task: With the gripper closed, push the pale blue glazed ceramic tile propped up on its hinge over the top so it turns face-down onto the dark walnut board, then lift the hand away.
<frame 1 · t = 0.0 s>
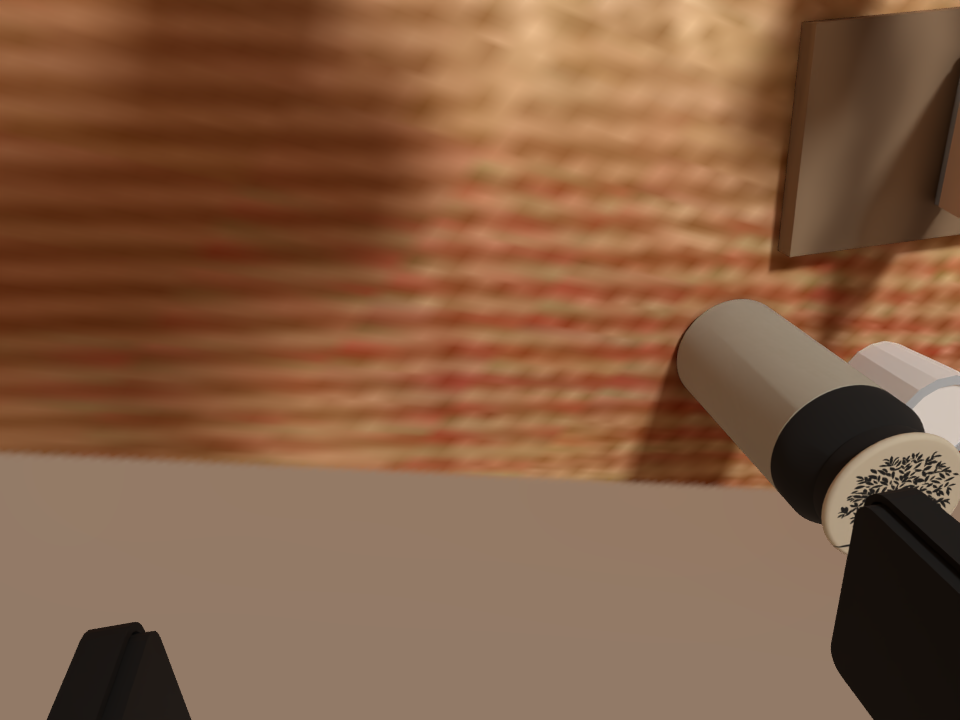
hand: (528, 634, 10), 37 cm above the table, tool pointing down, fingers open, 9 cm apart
white cup: (873, 374, 55), on the table
travel mug: (726, 348, 52), on the table
board: (934, 127, 47), on the table
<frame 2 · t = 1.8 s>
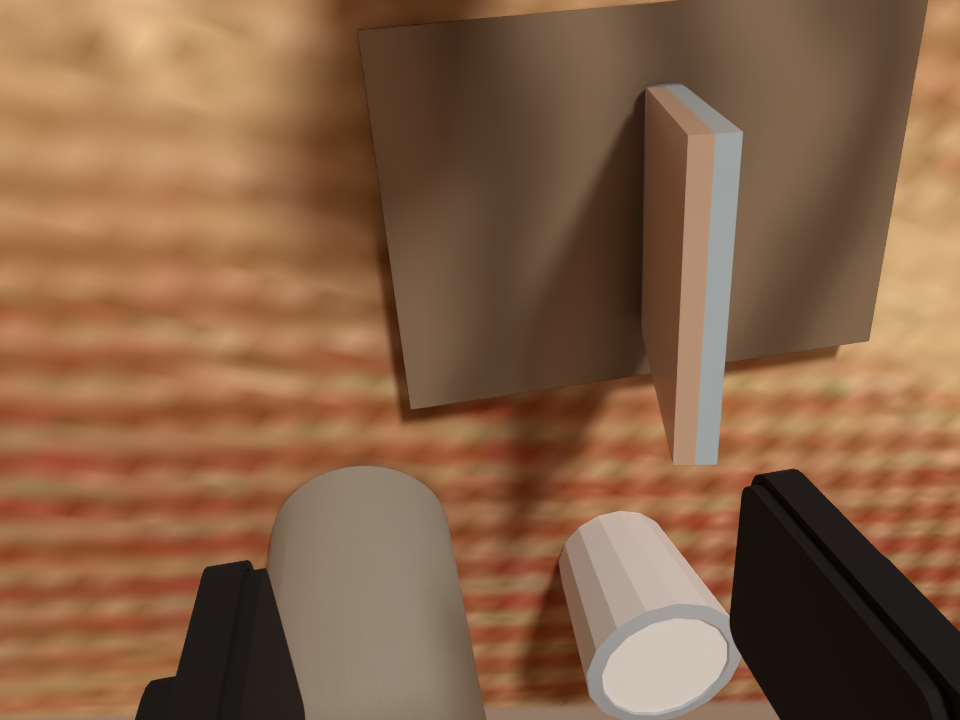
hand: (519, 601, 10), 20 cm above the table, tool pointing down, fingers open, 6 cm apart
white cup: (611, 554, 37), on the table
tile: (676, 253, 23), point 6 cm above the table, hinge at 75.0°
travel mug: (361, 531, 34), on the table
board: (638, 200, 29), on the table
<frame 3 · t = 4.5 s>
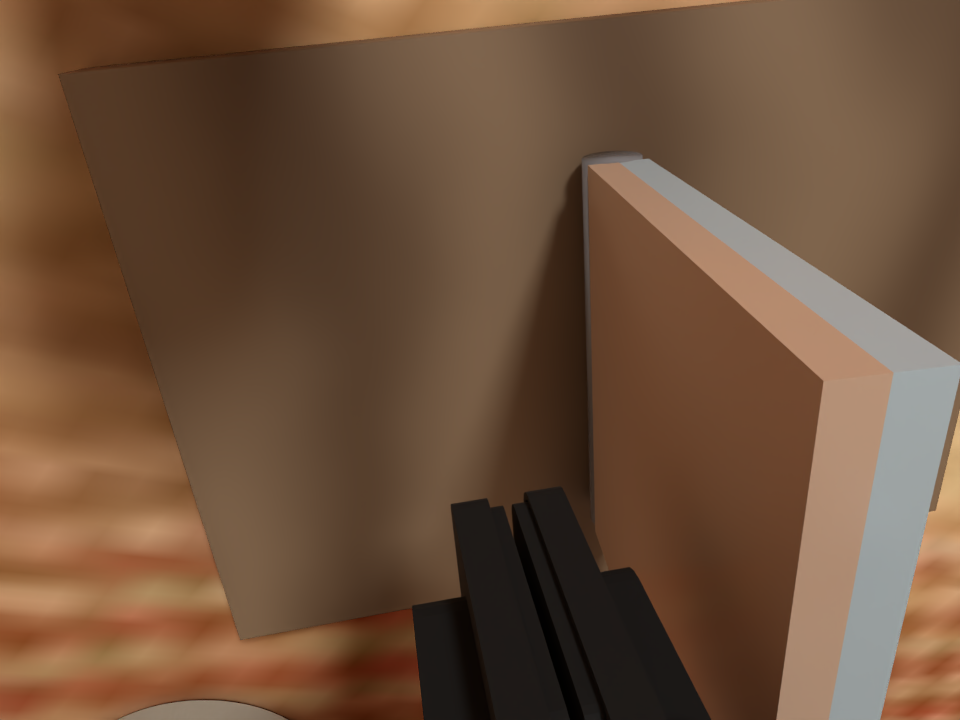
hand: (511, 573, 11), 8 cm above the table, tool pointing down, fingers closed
tile: (677, 470, 13), point 7 cm above the table, hinge at 85.7°, touching gripper
board: (585, 321, 19), on the table
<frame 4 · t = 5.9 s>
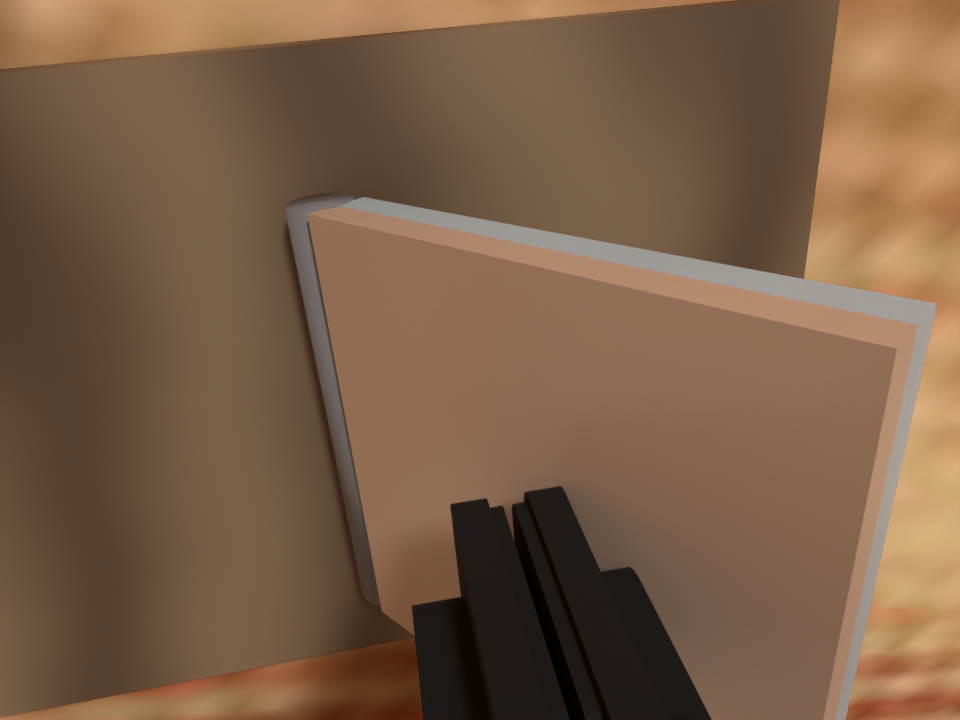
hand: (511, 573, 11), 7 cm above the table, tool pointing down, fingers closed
tile: (526, 503, 12), point 6 cm above the table, hinge at 127.0°, touching gripper
board: (355, 371, 17), on the table
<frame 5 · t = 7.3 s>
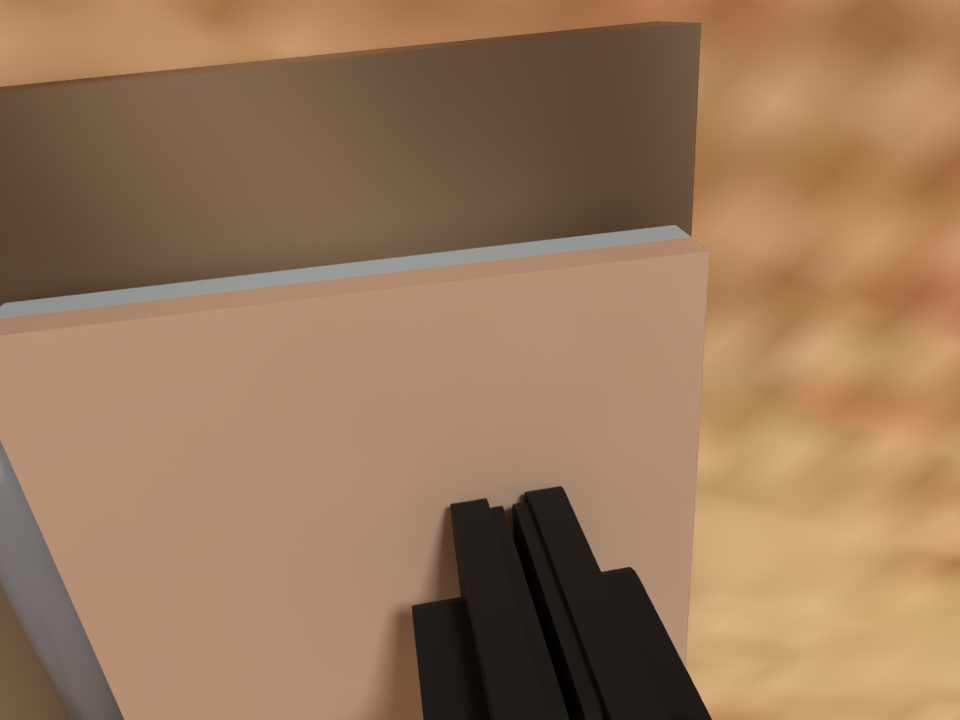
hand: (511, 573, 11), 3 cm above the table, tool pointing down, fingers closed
tile: (360, 557, 11), point 2 cm above the table, hinge at 177.4°, touching gripper
board: (106, 510, 13), on the table
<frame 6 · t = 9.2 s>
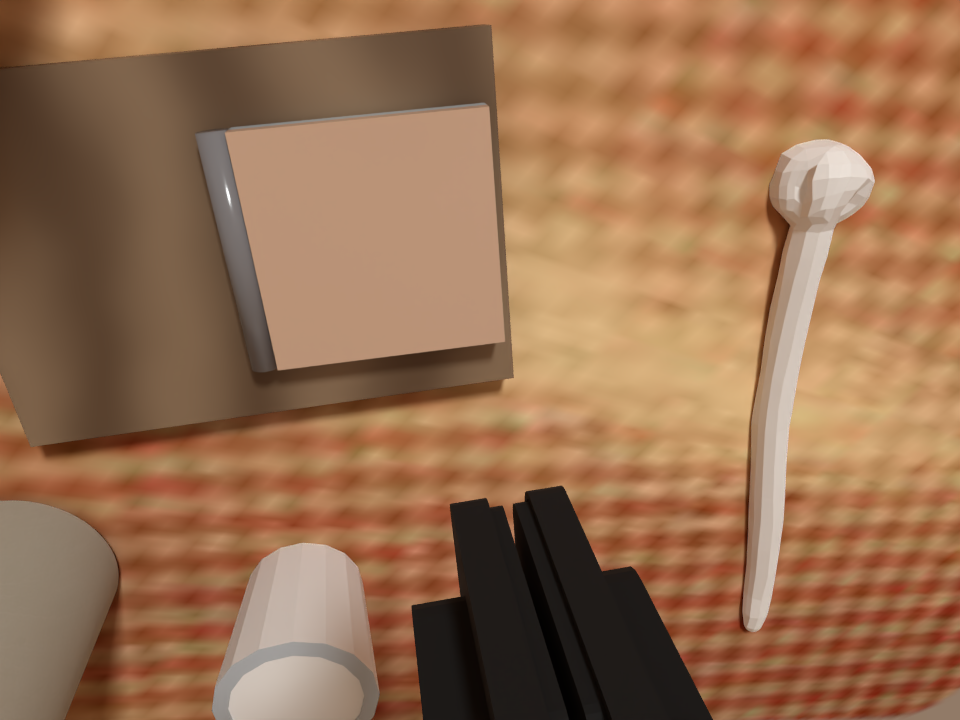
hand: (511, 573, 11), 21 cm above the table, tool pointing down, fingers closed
white cup: (306, 584, 37), on the table
tile: (362, 243, 27), point 2 cm above the table, hinge at 178.5°
travel mug: (29, 563, 34), on the table
white nail: (781, 415, 38), on the table
board: (249, 240, 29), on the table
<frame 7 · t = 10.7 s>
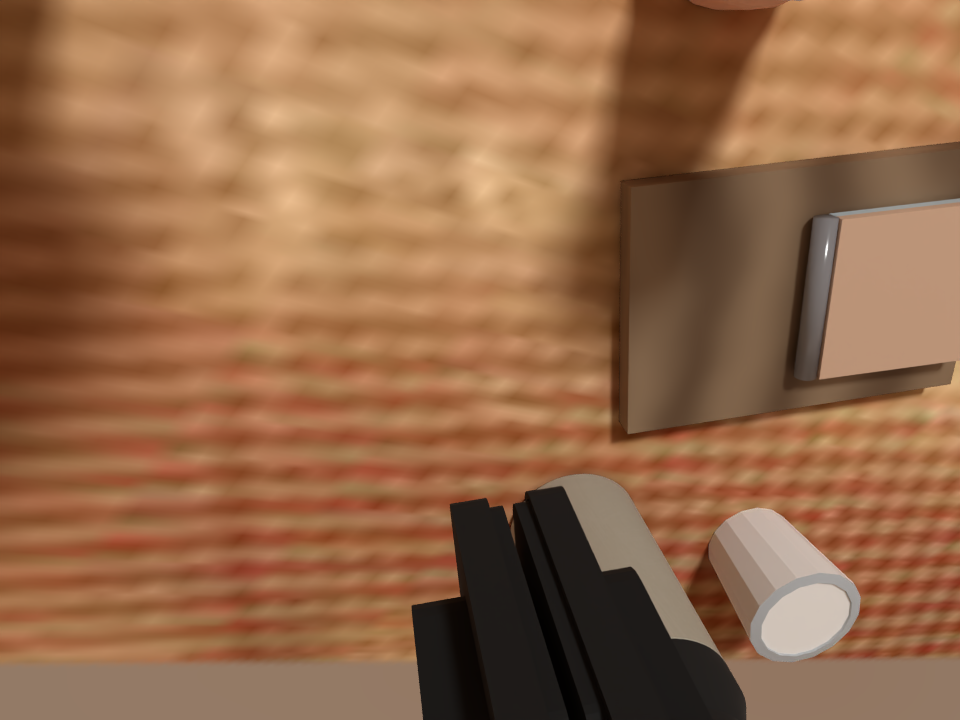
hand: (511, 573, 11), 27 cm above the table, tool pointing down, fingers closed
white cup: (746, 540, 49), on the table
tile: (893, 290, 39), point 2 cm above the table, hinge at 178.5°
travel mug: (570, 522, 46), on the table
board: (792, 286, 41), on the table
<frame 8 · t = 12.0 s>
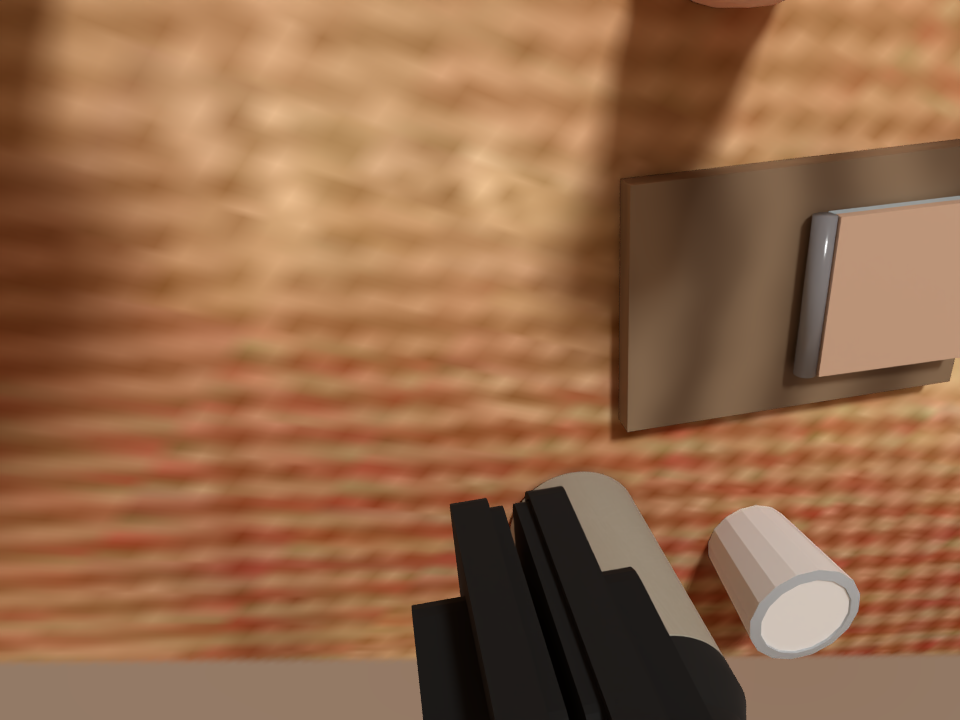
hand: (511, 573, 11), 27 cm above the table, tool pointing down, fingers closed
white cup: (746, 537, 49), on the table
tile: (892, 288, 39), point 2 cm above the table, hinge at 178.5°
travel mug: (570, 520, 46), on the table
board: (791, 284, 41), on the table
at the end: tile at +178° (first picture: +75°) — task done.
